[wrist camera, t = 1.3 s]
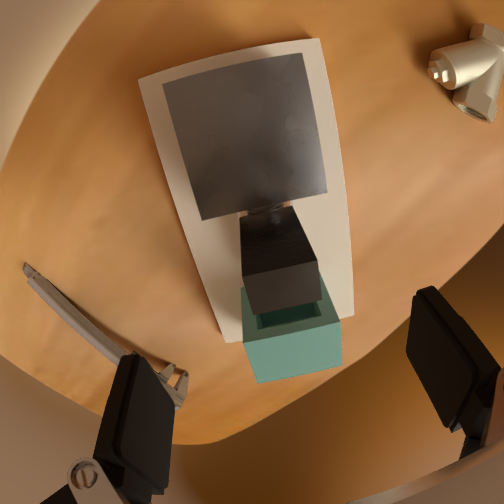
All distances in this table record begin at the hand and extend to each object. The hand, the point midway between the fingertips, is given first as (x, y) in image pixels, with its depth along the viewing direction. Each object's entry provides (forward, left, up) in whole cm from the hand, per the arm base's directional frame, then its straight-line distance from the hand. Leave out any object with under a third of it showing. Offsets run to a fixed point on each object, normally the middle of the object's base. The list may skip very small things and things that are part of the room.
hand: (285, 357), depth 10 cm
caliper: (+17, +8, -15) cm, 24 cm away
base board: (0, +1, -15) cm, 15 cm away
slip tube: (0, -2, -12) cm, 13 cm away
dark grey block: (0, -6, -14) cm, 15 cm away
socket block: (0, +9, -14) cm, 16 cm away
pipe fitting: (-19, -9, -15) cm, 26 cm away
